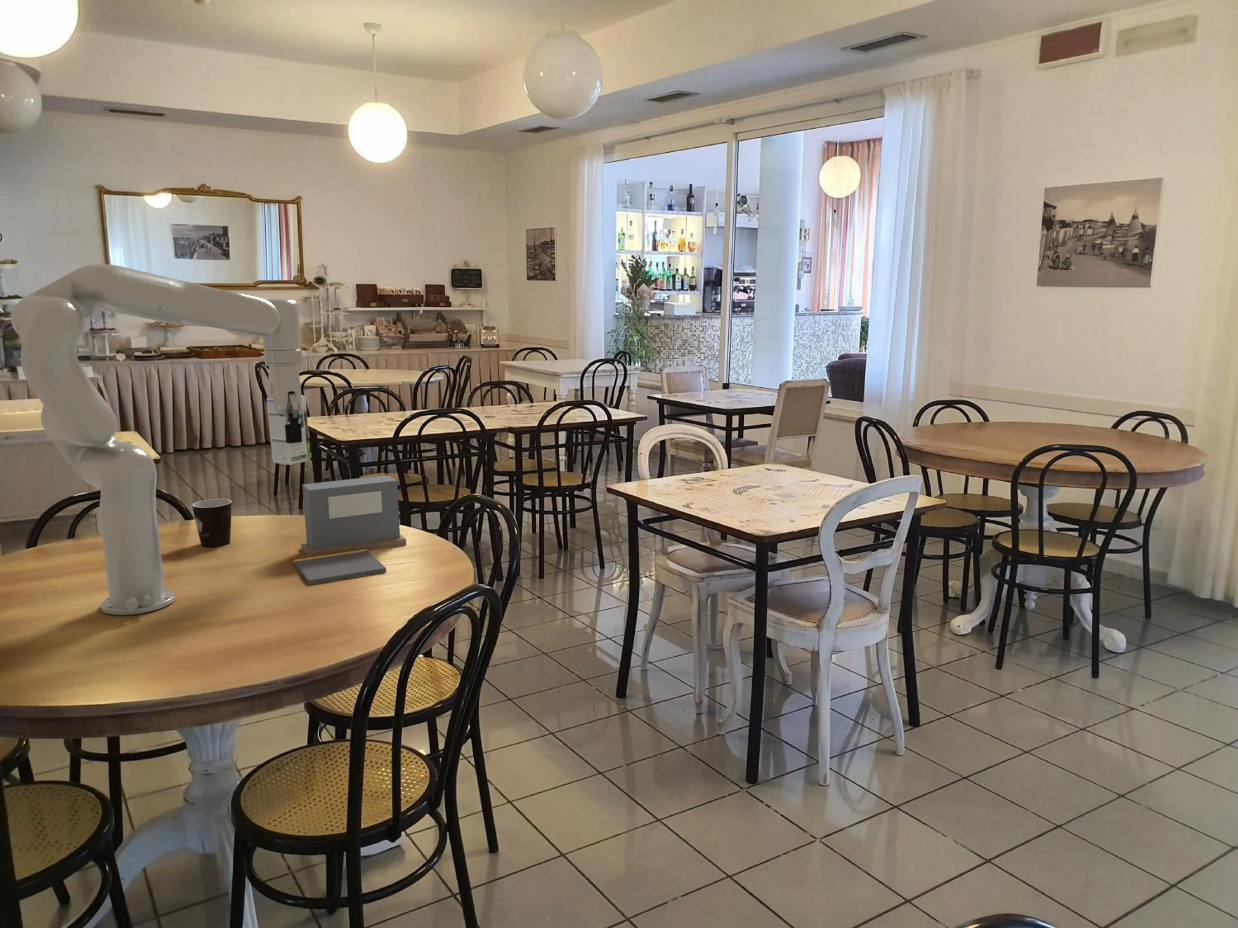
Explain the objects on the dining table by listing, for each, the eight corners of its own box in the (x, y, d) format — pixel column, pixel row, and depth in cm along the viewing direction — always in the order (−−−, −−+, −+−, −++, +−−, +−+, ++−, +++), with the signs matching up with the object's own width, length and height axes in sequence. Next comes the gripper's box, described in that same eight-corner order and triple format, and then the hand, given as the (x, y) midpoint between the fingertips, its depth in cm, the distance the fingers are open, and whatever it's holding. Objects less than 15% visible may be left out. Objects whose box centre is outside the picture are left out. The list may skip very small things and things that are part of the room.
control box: (406, 544, 214) (403, 481, 211) (310, 559, 203) (305, 492, 200) (394, 534, 222) (390, 473, 219) (301, 548, 212) (296, 483, 208)
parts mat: (386, 572, 194) (386, 567, 194) (309, 584, 186) (309, 579, 186) (366, 553, 207) (366, 548, 207) (293, 564, 199) (293, 559, 199)
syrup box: (290, 465, 192) (285, 397, 189) (271, 462, 195) (266, 396, 192) (311, 460, 197) (306, 394, 194) (292, 458, 200) (287, 393, 197)
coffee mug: (195, 541, 218) (191, 501, 216) (234, 537, 221) (231, 497, 219) (196, 554, 207) (191, 512, 205) (236, 549, 211) (232, 508, 209)
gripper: (256, 356, 197) (263, 436, 200) (273, 362, 182) (280, 447, 186) (292, 354, 201) (298, 432, 204) (311, 360, 186) (317, 444, 190)
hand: (289, 439), depth 195 cm, fingers closed on syrup box, 7 cm apart
